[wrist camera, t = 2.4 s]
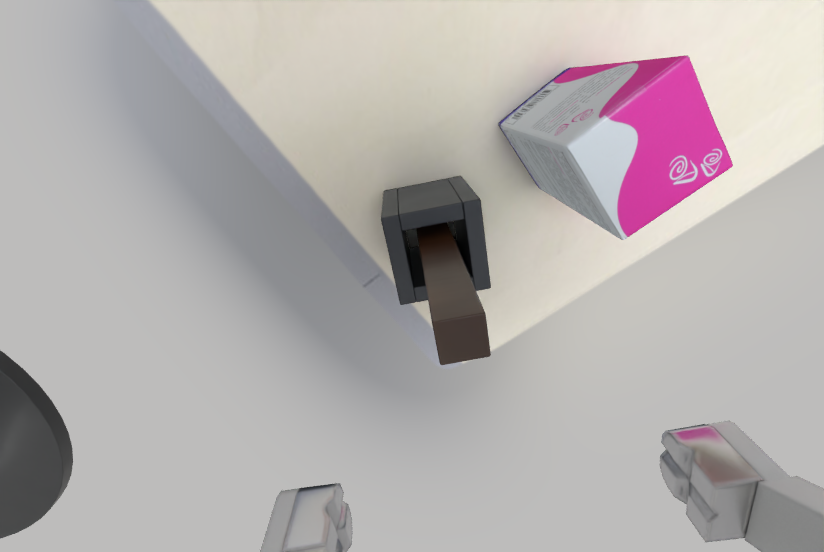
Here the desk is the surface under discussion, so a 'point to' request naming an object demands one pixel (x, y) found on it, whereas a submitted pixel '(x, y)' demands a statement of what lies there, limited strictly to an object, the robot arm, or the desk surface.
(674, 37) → the desk surface
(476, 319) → the stick
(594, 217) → the supplement box
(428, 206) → the holder
